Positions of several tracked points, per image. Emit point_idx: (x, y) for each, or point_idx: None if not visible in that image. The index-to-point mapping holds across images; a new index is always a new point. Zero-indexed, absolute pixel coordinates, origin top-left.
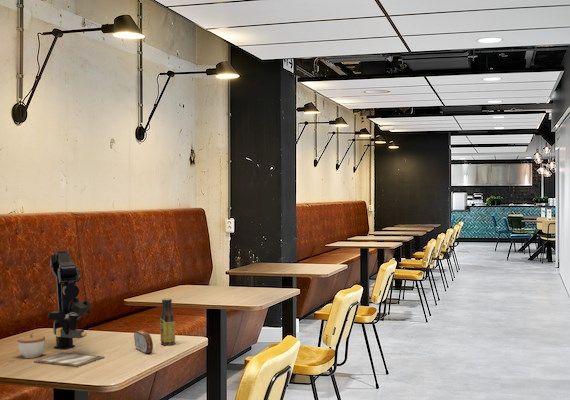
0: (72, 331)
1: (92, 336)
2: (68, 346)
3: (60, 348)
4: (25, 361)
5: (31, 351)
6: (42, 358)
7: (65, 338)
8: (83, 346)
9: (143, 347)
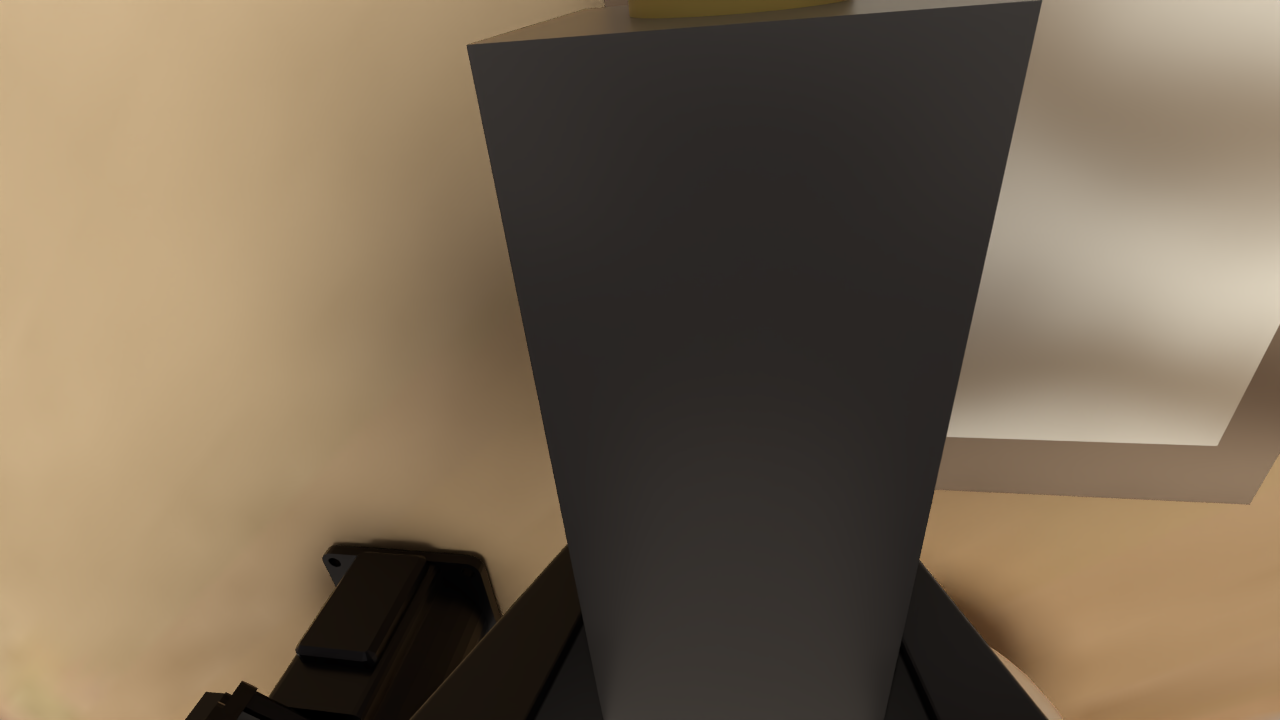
0: (922, 461)
1: (29, 613)
2: (425, 562)
3: (494, 600)
4: (1157, 602)
5: (1045, 696)
6: (1059, 494)
7: (397, 672)
8: (269, 470)
9: None
